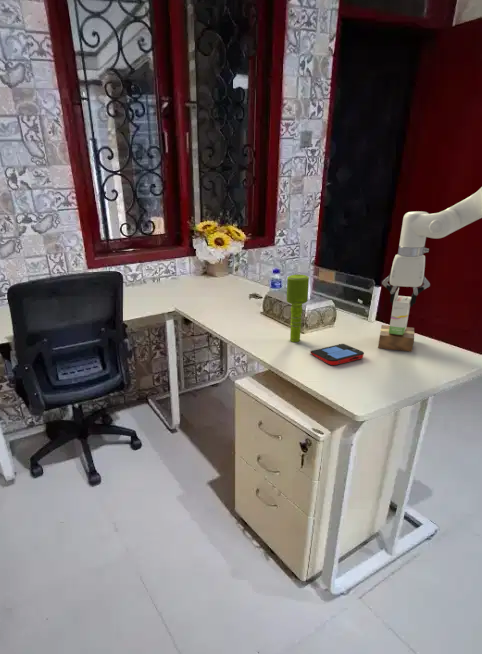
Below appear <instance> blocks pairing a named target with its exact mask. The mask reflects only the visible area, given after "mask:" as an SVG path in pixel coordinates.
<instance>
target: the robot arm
mask: <svg viewBox="0 0 482 654" xmlns="http://www.w3.org/2000/svg"><path fill="white" fill-rule="evenodd" d="M480 219H482V186H481V187H480V188H479V189H478V190H477V191H476V192H474V193H472V194H471V195H470V196H467V197H466V198H465V199H462V200H461V201H459V202H456V203H455V204H454V205H451V206H450V207H447V208H446V209H444V210H441V211H439V212H434V213H429V212H427V211H422V210H421V211H419V210H418V211H417V210H416V211H408V212H406V213H405V214H404V215H403V218H402V223H401V224H402V225H401V231H400V238H399V244H398V249H397V250H398V251H397V254H395V256H394V258H393V261H392V266H391V269H390V273H389V275H388V276H387V277H385V278H384V279H383V280H381V285H382V286H383V287H385V288H386V290H387V291H388V292H389V293H390V297H389V302H390V303H391V306H393V302H394V297H395V293H396V291H397V289H398V287H406V288H409V287H410V288H412V290H413V291H412V293H411V296H410V297H411V303H410V308H412V307H413V306H414V305H415V304H416V301H417V296H418V295H419V294H420V293H422V292H423V291H425V290H426V289H427V288H429V287H431V283H430V281H429V280H428V279H427V278H426V276H425V270H426V269H425V268H426V255H424V254H426V253H429V251H430V248H427V247H426V241H427V238H430V239H442V238H445V237H447V236H449V235H450V234H452V233H454V232H456V231H459V230H460V229H462V228H464V227H466V226H468V225H470V224H472V223H474V222H476V221H478V220H480ZM388 282H389V283H388Z"/></svg>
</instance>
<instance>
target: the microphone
mask: <svg viewBox="0 0 482 654" xmlns="http://www.w3.org/2000/svg"><path fill="white" fill-rule="evenodd" d="M286 279H287V280H286V302H287V303H288V304H291V306H290V314H291V315H290V319H289V320H290V323H289V325H290V334H289V335H290V336H289V337H290V339H289V341H290V342H292V343H298V342H300V341H301V331H302V330H301V329H302V328H301V327H302V322H303V321H302V317H303V316H302V314H303V305H304V304H306V303H307V302H308V299H309V284H310V282H309V281H310V276H308V275H306V274H291V275H289V276H287V278H286Z"/></svg>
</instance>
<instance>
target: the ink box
mask: <svg viewBox="0 0 482 654" xmlns="http://www.w3.org/2000/svg"><path fill="white" fill-rule="evenodd" d="M399 290H400V287H397V289H396V290H395V297H394V302H393V305H392V309H391V315H390V322H389V326H390V327H389V334H397V335H403V334H404V332H405V330H406V327H408V322H409V321H408V320H409V315H410V309H411V306H410V303H411V297H412V296H405V295H399V292H400V291H399Z"/></svg>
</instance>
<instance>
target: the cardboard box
mask: <svg viewBox="0 0 482 654" xmlns="http://www.w3.org/2000/svg"><path fill="white" fill-rule="evenodd" d="M389 327H390V325H388V324H381V327H380V332H379V340H378V344H377V345H378V346H377V348H378V349H382V350H384V349H385V350H392V351H400V352H401V351H402V352H410V353H411V352H413V348H414V347H413V346H414V342H415V327H411V326H410V327H409V326H407V327H406V330H405V332H404V334H403V335H397V334H389Z"/></svg>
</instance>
